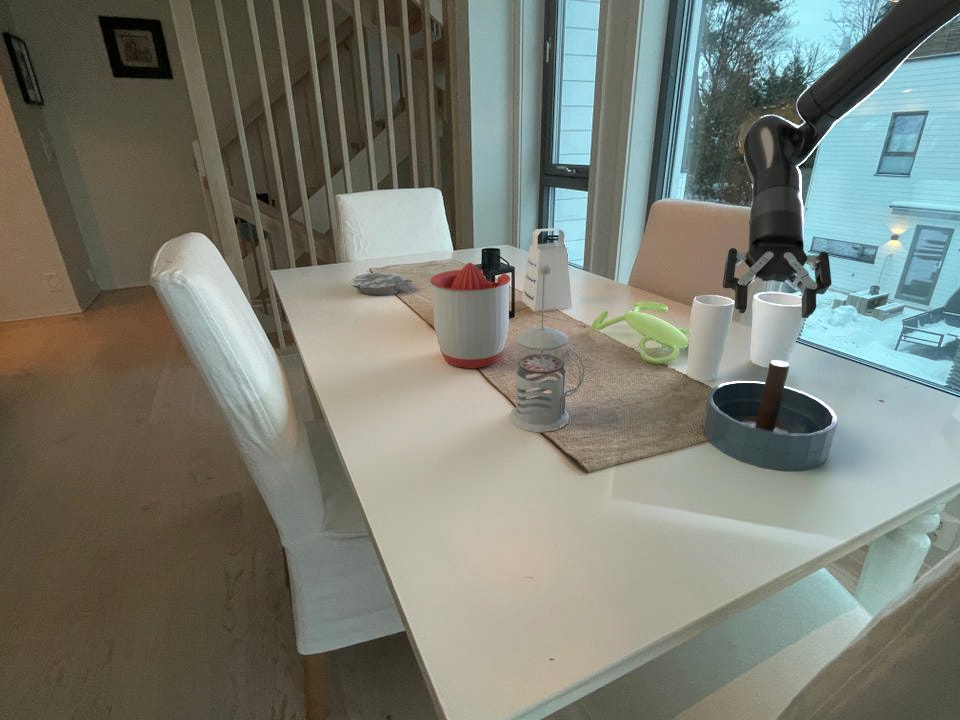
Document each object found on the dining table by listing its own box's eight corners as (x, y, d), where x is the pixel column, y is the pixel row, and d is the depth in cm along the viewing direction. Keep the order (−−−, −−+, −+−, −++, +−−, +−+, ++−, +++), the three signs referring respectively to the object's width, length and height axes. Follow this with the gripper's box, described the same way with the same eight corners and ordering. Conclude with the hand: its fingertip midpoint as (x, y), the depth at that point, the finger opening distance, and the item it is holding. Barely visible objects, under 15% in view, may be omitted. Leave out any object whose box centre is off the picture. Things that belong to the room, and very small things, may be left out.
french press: (523, 397, 89) (525, 255, 79) (588, 411, 84) (599, 261, 74) (499, 423, 81) (498, 269, 72) (569, 441, 76) (578, 277, 66)
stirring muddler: (780, 430, 77) (799, 357, 72) (789, 452, 72) (809, 374, 67) (737, 425, 79) (752, 353, 74) (742, 445, 73) (759, 369, 69)
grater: (521, 300, 143) (522, 227, 135) (556, 297, 145) (559, 225, 137) (534, 311, 134) (536, 234, 126) (571, 307, 136) (576, 231, 128)
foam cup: (754, 349, 107) (767, 289, 102) (802, 362, 101) (818, 298, 96) (733, 361, 102) (745, 298, 97) (782, 376, 95) (798, 309, 90)
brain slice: (337, 290, 156) (336, 281, 155) (380, 279, 168) (379, 270, 167) (378, 301, 145) (377, 291, 144) (422, 288, 157) (421, 279, 155)
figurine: (648, 316, 128) (651, 295, 126) (728, 355, 105) (733, 329, 103) (583, 326, 123) (585, 303, 121) (652, 368, 100) (655, 341, 97)
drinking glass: (683, 383, 93) (695, 304, 87) (679, 368, 99) (690, 293, 93) (723, 386, 92) (738, 306, 86) (717, 371, 98) (730, 295, 92)
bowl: (810, 422, 80) (819, 388, 78) (841, 483, 66) (854, 444, 64) (698, 408, 85) (704, 375, 82) (706, 463, 71) (713, 425, 68)
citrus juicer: (529, 352, 108) (531, 258, 100) (477, 381, 96) (474, 276, 88) (473, 337, 117) (471, 249, 110) (419, 361, 105) (412, 265, 97)
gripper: (731, 207, 80) (727, 297, 75) (836, 209, 76) (839, 305, 71) (722, 235, 87) (717, 320, 82) (818, 238, 83) (819, 328, 77)
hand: (774, 313), depth 76 cm, fingers open, 8 cm apart
